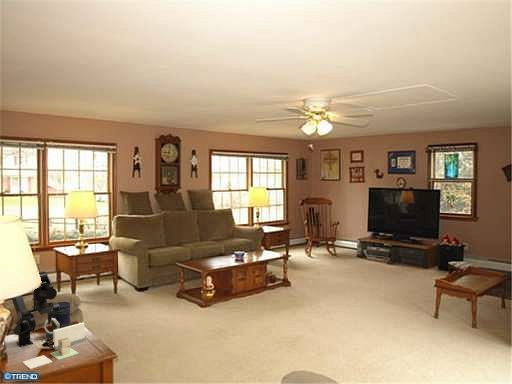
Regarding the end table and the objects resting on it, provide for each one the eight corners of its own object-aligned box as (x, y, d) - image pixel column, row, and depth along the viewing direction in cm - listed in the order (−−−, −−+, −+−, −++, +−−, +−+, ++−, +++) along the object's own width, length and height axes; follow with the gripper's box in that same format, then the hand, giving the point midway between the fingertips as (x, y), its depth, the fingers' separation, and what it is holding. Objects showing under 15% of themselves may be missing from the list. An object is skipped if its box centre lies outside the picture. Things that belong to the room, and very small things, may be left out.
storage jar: (66, 325, 251) (66, 300, 250) (73, 329, 244) (73, 304, 243) (49, 329, 244) (48, 304, 243) (55, 334, 237) (55, 308, 236)
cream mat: (22, 362, 201) (22, 361, 201) (43, 355, 209) (43, 355, 209) (30, 369, 195) (30, 368, 195) (52, 362, 202) (52, 361, 202)
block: (58, 352, 212) (58, 339, 211) (66, 350, 215) (66, 337, 214) (62, 355, 208) (62, 342, 208) (70, 353, 211) (70, 339, 211)
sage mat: (50, 354, 211) (50, 353, 211) (69, 348, 219) (69, 347, 218) (58, 360, 204) (58, 359, 204) (78, 353, 212) (78, 352, 212)
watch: (61, 337, 232) (61, 318, 231) (45, 341, 226) (45, 321, 226) (57, 334, 236) (57, 315, 235) (42, 338, 230) (42, 319, 230)
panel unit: (46, 343, 224) (45, 325, 224) (75, 334, 236) (75, 318, 236) (55, 349, 216) (55, 331, 216) (85, 340, 228) (85, 323, 228)
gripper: (25, 304, 203) (26, 335, 204) (64, 295, 217) (64, 325, 218) (17, 299, 211) (18, 329, 212) (55, 291, 225) (55, 320, 225)
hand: (39, 326), depth 216 cm, fingers open, 9 cm apart
